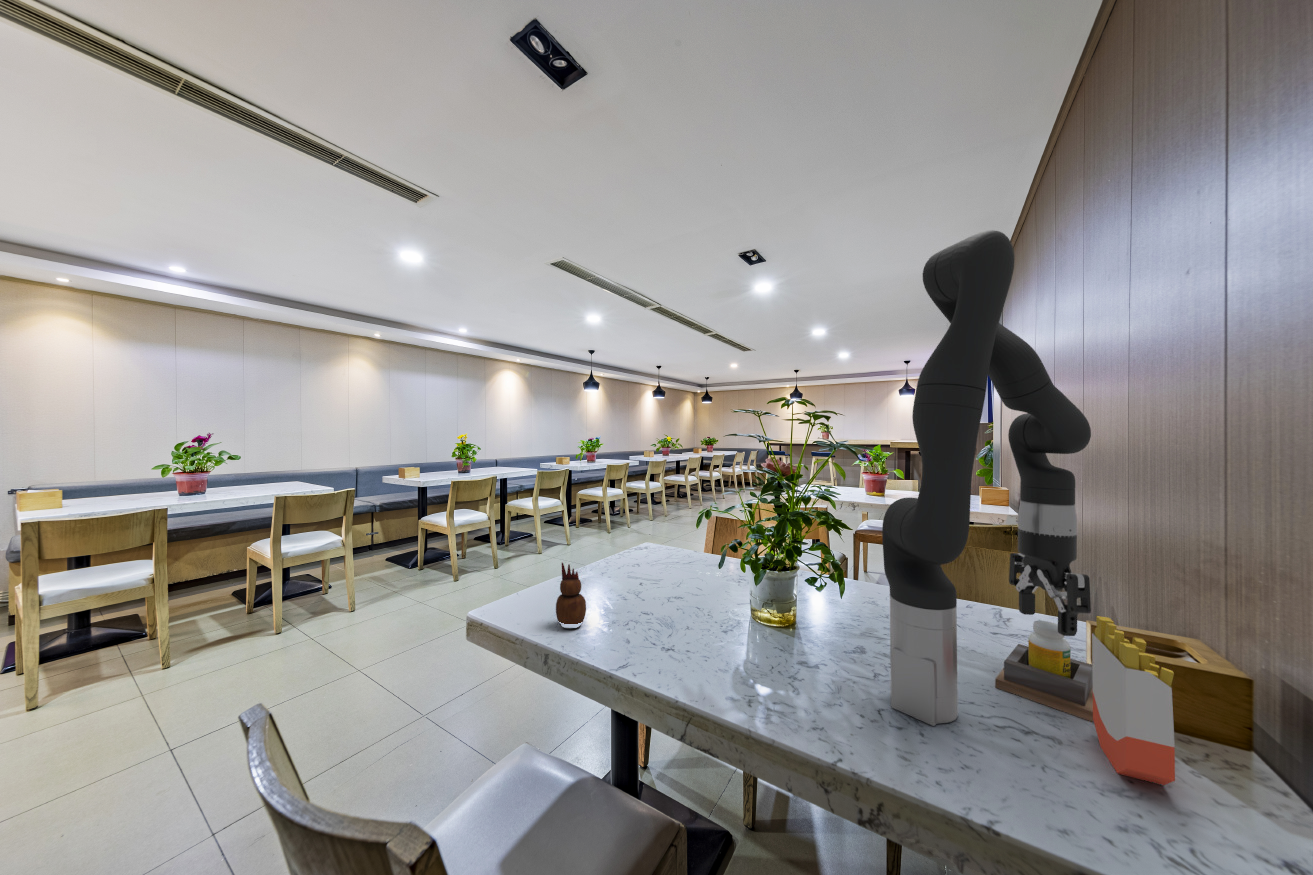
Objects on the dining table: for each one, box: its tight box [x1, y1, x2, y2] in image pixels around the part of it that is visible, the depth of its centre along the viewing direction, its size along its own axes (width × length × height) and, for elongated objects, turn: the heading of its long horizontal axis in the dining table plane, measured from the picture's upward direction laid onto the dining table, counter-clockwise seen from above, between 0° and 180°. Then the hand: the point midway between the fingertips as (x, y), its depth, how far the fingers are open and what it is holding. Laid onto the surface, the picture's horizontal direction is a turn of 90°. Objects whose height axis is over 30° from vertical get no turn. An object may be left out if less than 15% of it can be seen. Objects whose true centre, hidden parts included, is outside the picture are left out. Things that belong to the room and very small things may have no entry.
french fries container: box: [1091, 615, 1176, 786], centre depth 58 cm, size 5×11×18 cm, turn 151°
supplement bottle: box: [1027, 620, 1072, 679], centre depth 74 cm, size 5×5×10 cm
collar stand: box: [994, 643, 1094, 723], centre depth 75 cm, size 12×12×4 cm
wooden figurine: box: [555, 562, 587, 624], centre depth 102 cm, size 7×6×15 cm
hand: (1045, 623), depth 75 cm, fingers open, 8 cm apart
